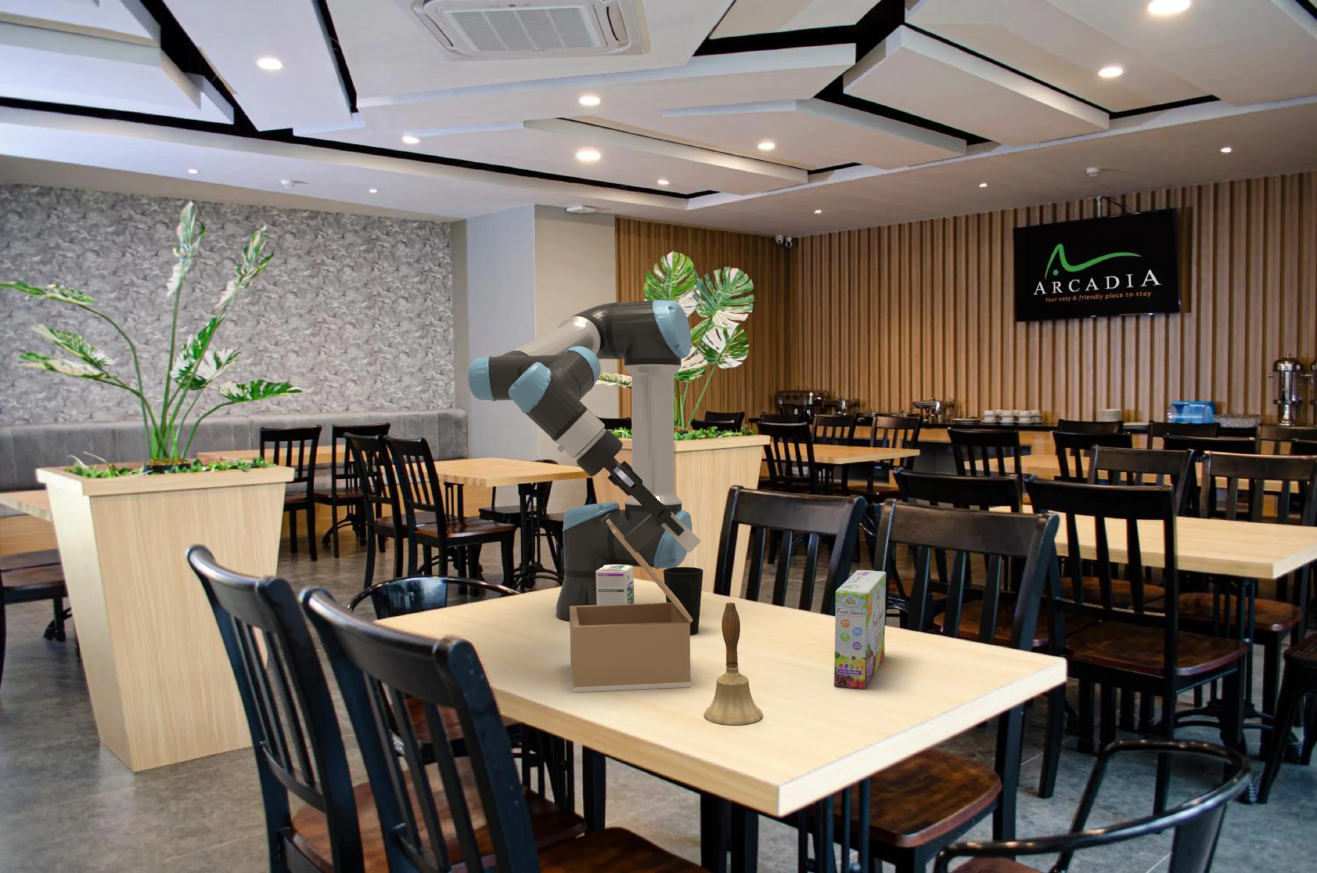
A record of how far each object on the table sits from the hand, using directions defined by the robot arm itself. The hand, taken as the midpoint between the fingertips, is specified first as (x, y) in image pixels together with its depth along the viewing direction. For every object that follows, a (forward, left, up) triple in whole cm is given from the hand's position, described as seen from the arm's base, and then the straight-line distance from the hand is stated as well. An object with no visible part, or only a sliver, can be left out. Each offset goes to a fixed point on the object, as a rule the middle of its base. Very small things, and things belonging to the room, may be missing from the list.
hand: (693, 545), depth 160 cm
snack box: (-23, +14, -21) cm, 34 cm away
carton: (+10, -5, -21) cm, 23 cm away
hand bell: (+8, +21, -21) cm, 31 cm away
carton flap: (+7, -3, -4) cm, 9 cm away
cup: (-14, -25, -21) cm, 35 cm away
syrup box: (+2, -23, -21) cm, 31 cm away
